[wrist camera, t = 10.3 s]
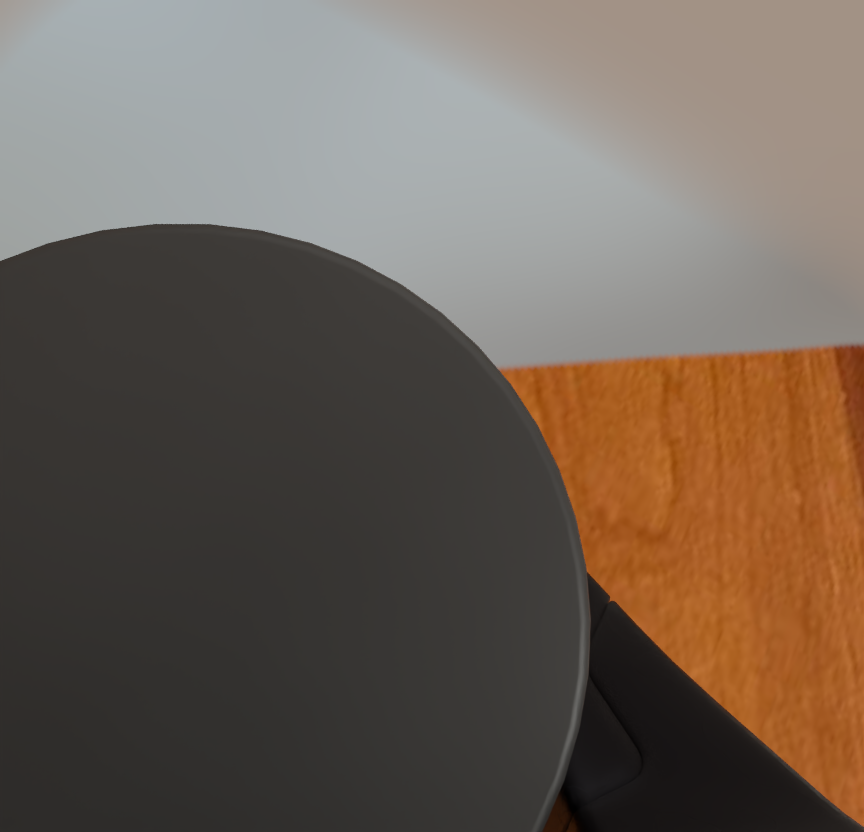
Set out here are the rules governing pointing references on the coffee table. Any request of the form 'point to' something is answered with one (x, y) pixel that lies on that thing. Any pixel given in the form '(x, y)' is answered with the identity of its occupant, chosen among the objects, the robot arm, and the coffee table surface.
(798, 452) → the coffee table surface
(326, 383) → the disc
